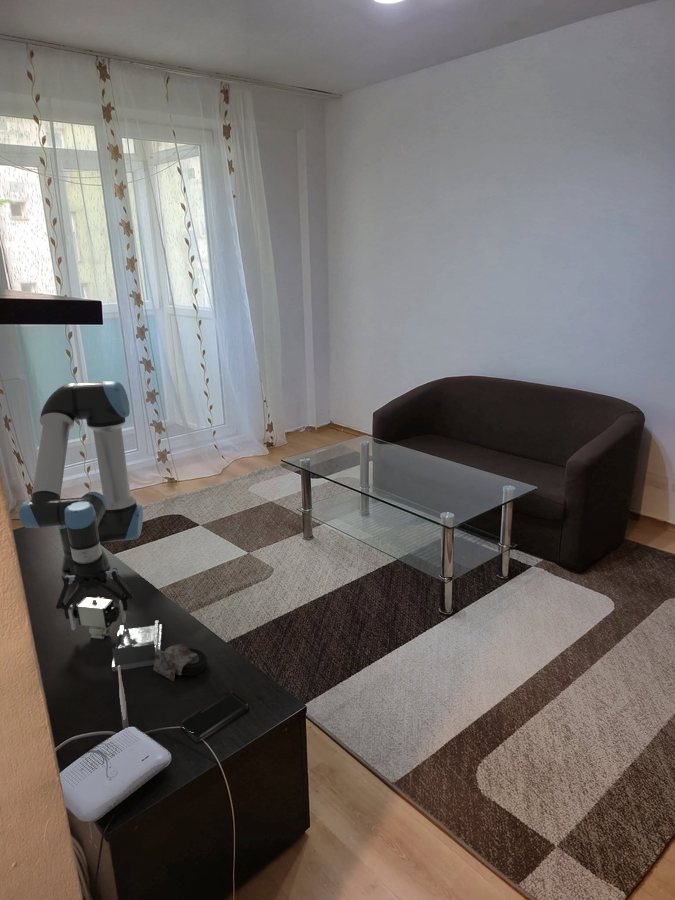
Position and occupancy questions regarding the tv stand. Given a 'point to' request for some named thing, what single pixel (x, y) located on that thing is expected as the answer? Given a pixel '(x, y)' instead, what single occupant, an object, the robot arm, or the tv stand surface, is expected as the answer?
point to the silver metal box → (137, 646)
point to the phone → (214, 716)
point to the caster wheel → (179, 661)
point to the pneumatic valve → (96, 615)
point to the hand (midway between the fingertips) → (99, 623)
